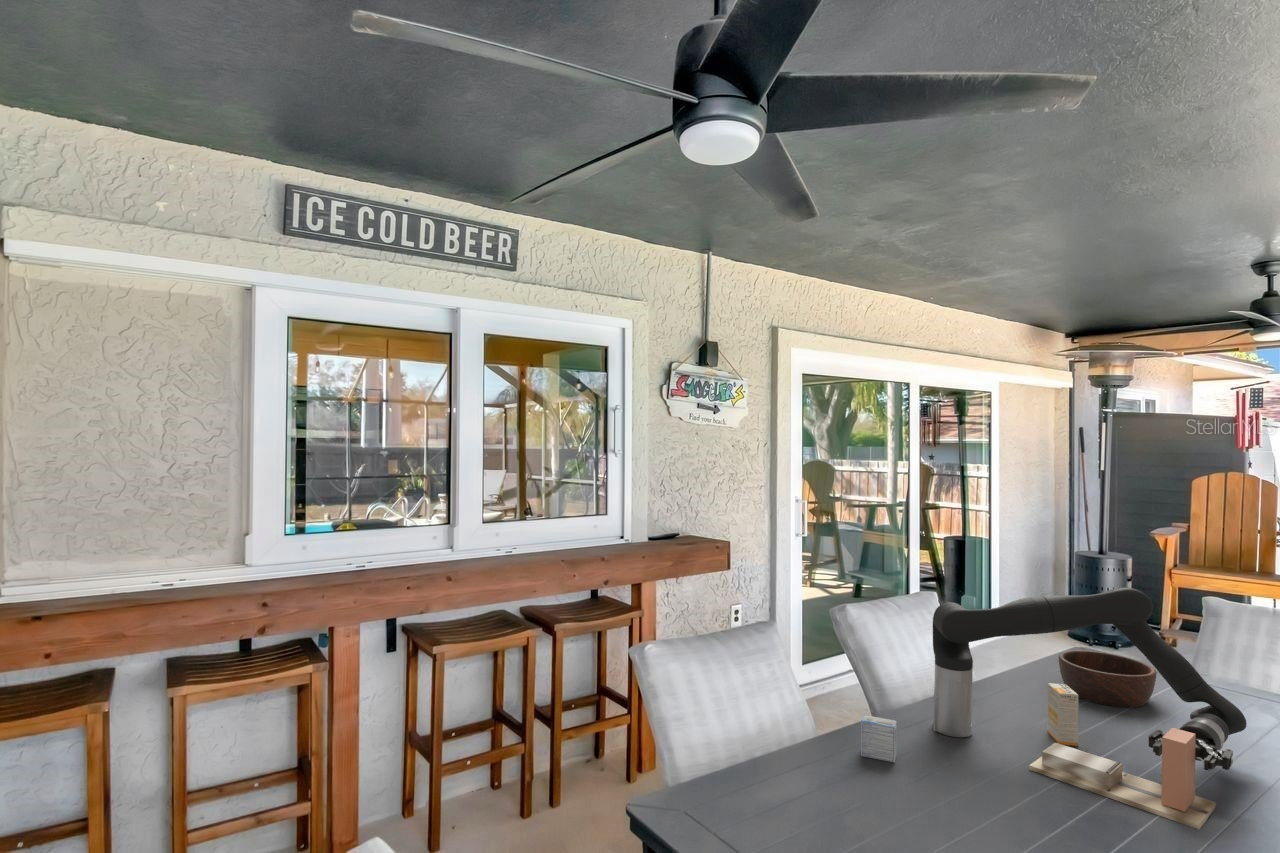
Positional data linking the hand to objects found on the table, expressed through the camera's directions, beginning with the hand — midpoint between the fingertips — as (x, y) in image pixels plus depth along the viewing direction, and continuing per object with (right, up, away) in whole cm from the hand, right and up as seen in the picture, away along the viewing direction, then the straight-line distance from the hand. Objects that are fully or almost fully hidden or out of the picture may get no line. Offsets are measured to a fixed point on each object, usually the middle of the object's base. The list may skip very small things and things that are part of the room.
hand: (1181, 758), depth 151 cm
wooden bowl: (+27, -12, +65) cm, 71 cm away
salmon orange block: (-1, -9, -1) cm, 9 cm away
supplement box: (-6, -11, +33) cm, 35 cm away
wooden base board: (-9, -10, +7) cm, 15 cm away
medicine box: (-58, -9, +20) cm, 62 cm away
